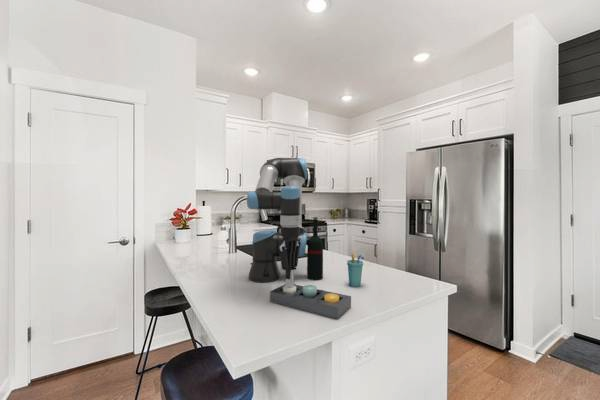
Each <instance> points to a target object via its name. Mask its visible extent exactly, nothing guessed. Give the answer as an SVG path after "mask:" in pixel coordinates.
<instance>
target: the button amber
mask: <svg viewBox="0 0 600 400" xmlns="http://www.w3.org/2000/svg"><path fill="white" fill-rule="evenodd" d="M324 301H327V302H332V303H338V302H339V295H337V294H332V293H330V294H325V295H324Z"/></svg>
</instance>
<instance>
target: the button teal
mask: <svg viewBox="0 0 600 400" xmlns="http://www.w3.org/2000/svg"><path fill="white" fill-rule="evenodd" d="M302 286H303V296H306V297H310V298H314V297H316V296H317V289H318V288H317V287H318V286H316V285H313V284H306V285H305V284H304V285H302Z"/></svg>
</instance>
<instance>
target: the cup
mask: <svg viewBox="0 0 600 400" xmlns="http://www.w3.org/2000/svg"><path fill="white" fill-rule="evenodd" d="M360 258H361V260H360ZM364 259H365V258H364V256H362V254H359V255H358V256H357V259H355V253H354V252H352V253H351V259H349V260H346V264H347V275H348V285H349V286H350V287H352V288H353V287H354V288H359V287H361V284H362V283H361V282H362V274H363V273H362V272H363V266H364V261H362V260H364Z"/></svg>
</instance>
